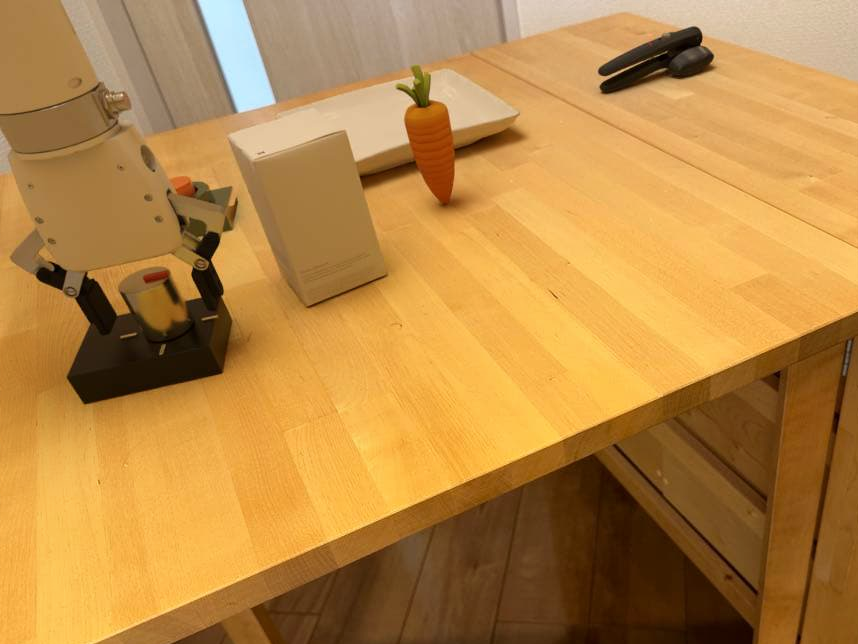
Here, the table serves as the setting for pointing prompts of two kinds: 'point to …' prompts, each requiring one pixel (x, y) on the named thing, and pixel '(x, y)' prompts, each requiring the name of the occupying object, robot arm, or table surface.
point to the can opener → (658, 58)
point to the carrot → (430, 136)
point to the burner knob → (156, 303)
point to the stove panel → (149, 355)
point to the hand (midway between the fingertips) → (163, 314)
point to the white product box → (310, 203)
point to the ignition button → (183, 186)
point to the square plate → (385, 109)
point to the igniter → (215, 197)
